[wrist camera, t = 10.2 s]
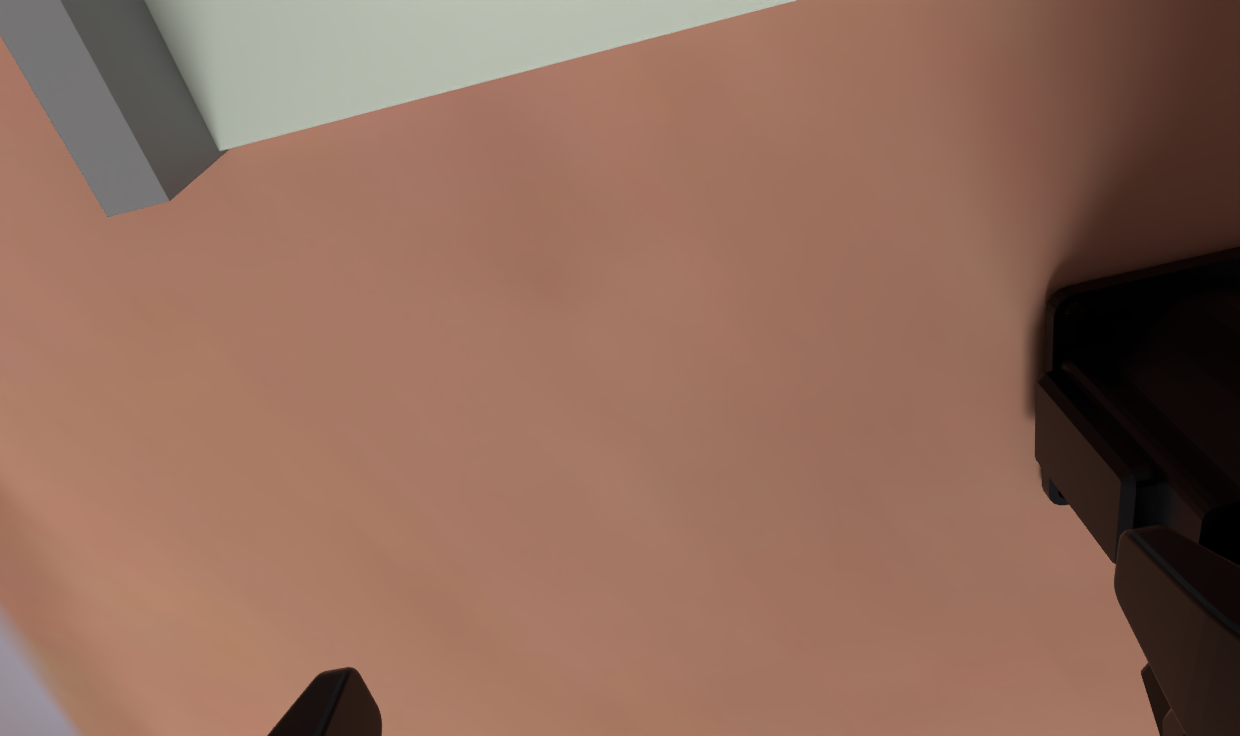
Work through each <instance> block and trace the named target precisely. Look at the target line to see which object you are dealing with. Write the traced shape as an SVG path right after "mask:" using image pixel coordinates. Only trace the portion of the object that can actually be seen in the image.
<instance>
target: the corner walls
mask: <svg viewBox="0 0 1240 736" xmlns="http://www.w3.org/2000/svg"><path fill="white" fill-rule="evenodd" d="M0 36H1V37H2V39H3V41H4V42H5V44H6V46H7V48H8V49H9V51H10V53H11V54H12V56H13V58H14V59H15V61H16V63H17V64H18V66H19V68H20V70H21V71H22V73H23V75H24V76H25V78H26V80H27V81H28V83H29V85H30V87H31V88H32V90H33V92H34V93H35V95H36V97H37V98H38V100H39V102H40V103H41V105H42V107H43V109H44V110H45V112H46V114H47V115H48V117H49V119H50V120H51V122H52V124H53V126H54V127H55V129H56V131H57V132H58V134H59V136H60V137H61V139H62V141H63V142H64V144H65V146H66V148H67V149H68V151H69V153H70V154H71V156H72V158H73V159H74V161H75V163H76V165H77V166H78V168H79V170H80V171H81V173H82V175H83V176H84V178H85V180H86V182H87V183H88V185H89V187H90V188H91V190H92V192H93V193H94V195H95V197H96V198H97V200H98V202H99V204H100V205H101V207H102V209H103V210H104V212H105V214H106V215H107V217H110V216H114V215H118V214H122V213H125V212H129V211H133V210H137V209H141V208H145V207H149V206H153V205H157V204H160V203H164V202H168V201H170V200H171V199H173V198H174V197H175V196H176V195H177V194H178V193H180V192H181V191H182V190H183V189H184V188H185V187H186V186H188V185H189V184H190V183H191V182H192V181H193V180H194V179H196V178H197V177H198V176H199V175H200V174H201V173H203V172H204V171H205V170H206V169H207V168H208V167H209V166H211V165H212V164H213V163H214V162H215V161H216V160H217V159H219V158H220V157H221V156H222V155H223V154H224V153H226V152H227V151H228V149H226V150H222V151H219V150H218V148H217V146H216V144H215V142H214V140H213V138H212V136H211V134H210V132H209V130H208V128H207V126H206V124H205V122H204V120H203V118H202V116H201V114H200V112H199V110H198V108H197V106H196V103H195V101H194V99H193V97H192V95H191V93H190V91H189V89H188V87H187V85H186V83H185V81H184V79H183V77H182V75H181V73H180V71H179V69H178V67H177V65H176V63H175V61H174V59H173V57H172V55H171V53H170V51H169V49H168V47H167V45H166V43H165V41H164V39H163V37H162V35H161V33H160V31H159V29H158V27H157V25H156V23H155V21H154V19H153V17H152V15H151V13H150V11H149V9H148V7H147V5H146V3H145V1H144V0H0Z"/></svg>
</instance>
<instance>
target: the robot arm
mask: <svg viewBox="0 0 1240 736" xmlns="http://www.w3.org/2000/svg"><path fill="white" fill-rule="evenodd" d="M1074 303H1078V304H1077V307H1076V308H1075V309H1074V310H1073V311H1072V312H1070V313H1068V314H1064V313H1065V310H1066V309H1067V308H1068V307H1069V306H1070V305H1072V304H1074ZM1035 458H1036V460H1037V461H1038V463H1039V464H1040V466H1041V467H1042V488H1043V491H1044V492H1045V493H1046V495H1047V496H1048V498H1049V499H1050V500H1051V501H1052V502H1053V503H1054V504H1058V505H1070V506H1071V507H1072V509H1073V510H1074V511H1075V513H1076V514H1077V515H1078V517H1079V518H1080V519H1081V521H1082V522H1083V523H1084V525H1085V526H1086V527H1087V529H1088V530H1089V532H1090V533H1091V534H1092V536H1093V537H1094V538H1095V540H1096V541H1097V542H1098V544H1099V545H1100V546H1101V548H1102V549H1103V550H1104V552H1105V553H1106V554H1107V556H1108V557H1109V558H1110V560H1111V561H1112V562H1113V563H1114V564H1116V568H1115V576H1114V588H1115V593H1116V596H1117V599H1118V602H1119V604H1120V606H1121V608H1122V610H1123V612H1124V614H1125V616H1126V618H1127V620H1128V622H1129V624H1130V626H1131V628H1132V630H1133V632H1134V634H1135V636H1136V638H1137V640H1138V642H1139V644H1140V646H1141V648H1142V650H1143V652H1144V654H1145V656H1146V658H1147V660H1148V663H1147V665H1146V666H1145V667H1144V668H1143V669H1142V670H1141V675H1142V679H1143V682H1144V685H1145V688H1146V692H1147V695H1148V698H1149V701H1150V705H1151V708H1152V711H1153V714H1154V717H1155V721H1156V724H1157V727H1158V730H1159V734H1160V736H1240V247H1238V248H1234V249H1229V250H1225V251H1221V252H1216V253H1212V254H1207V255H1203V256H1198V257H1194V258H1190V259H1185V260H1181V261H1176V262H1172V263H1167V264H1163V265H1158V266H1154V267H1150V268H1145V269H1141V270H1136V271H1132V272H1127V273H1123V274H1119V275H1114V276H1110V277H1105V278H1101V279H1096V280H1092V281H1088V282H1083V283H1079V284H1074V285H1070V286H1066V287H1064V288H1061V289H1059V290H1058V291H1057V292H1055V293H1054V294H1053V295H1052V296H1051V297H1050V299H1049V300H1048V302H1047V306H1046V314H1045V361H1044V372H1043V373H1042V374H1041V375H1040V377H1039V379H1038V381H1037V382H1036V415H1035ZM267 736H382V719H381V714H380V711H379V708H378V706H377V704H376V702H375V700H374V698H373V697H372V695H371V693H370V691H369V690H368V688H367V686H366V684H365V682H364V681H363V679H362V677H361V675H360V674H359V672H358V671H357V670H356V669H354V668H352V667H346V668H340V669H335V670H329V671H324V672H322V673H320V674H319V675H318V676H316V677H315V679H314V680H313V681H312V682H311V683H310V684H309V686H308V687H307V688H306V689H305V691H304V692H303V693H302V694H301V695H300V697H299V698H298V699H297V700H296V701H295V703H294V704H293V705H292V706H291V707H290V709H289V710H288V711H287V712H286V714H285V715H284V716H283V717H282V718H281V720H280V721H279V722H278V723H277V724H276V726H275V727H274V728H273V729H272V731H271V732H270V733H269V734H268V735H267Z"/></svg>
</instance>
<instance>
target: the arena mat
mask: <svg viewBox="0 0 1240 736" xmlns="http://www.w3.org/2000/svg"><path fill="white" fill-rule="evenodd" d="M144 1H145V3H146V5H147V7H148V9H149V11H150V13H151V15H152V17H153V19H154V21H155V23H156V25H157V27H158V29H159V31H160V33H161V35H162V37H163V39H164V41H165V43H166V45H167V47H168V49H169V51H170V53H171V55H172V57H173V59H174V61H175V63H176V65H177V67H178V69H179V71H180V73H181V75H182V77H183V79H184V81H185V83H186V85H187V87H188V89H189V91H190V93H191V95H192V97H193V99H194V101H195V103H196V106H197V108H198V110H199V112H200V114H201V116H202V118H203V120H204V122H205V124H206V126H207V128H208V130H209V132H210V134H211V136H212V138H213V140H214V142H215V144H216V146H217V148H218V150H219V151H222V150H226V149H230V148H234V147H238V146H241V145H245V144H249V143H253V142H257V141H260V140H264V139H268V138H272V137H276V136H280V135H283V134H287V133H291V132H295V131H299V130H302V129H306V128H310V127H314V126H318V125H322V124H325V123H329V122H333V121H337V120H341V119H344V118H348V117H352V116H356V115H360V114H364V113H367V112H371V111H375V110H379V109H383V108H386V107H390V106H394V105H398V104H402V103H406V102H409V101H413V100H417V99H421V98H425V97H429V96H432V95H436V94H440V93H444V92H448V91H451V90H455V89H459V88H463V87H467V86H471V85H474V84H478V83H482V82H486V81H490V80H493V79H497V78H501V77H505V76H509V75H513V74H516V73H520V72H524V71H528V70H532V69H535V68H539V67H543V66H547V65H551V64H555V63H558V62H562V61H566V60H570V59H574V58H577V57H581V56H585V55H589V54H593V53H597V52H600V51H604V50H608V49H612V48H616V47H619V46H623V45H627V44H631V43H635V42H639V41H642V40H646V39H650V38H654V37H658V36H661V35H665V34H669V33H673V32H677V31H681V30H684V29H688V28H692V27H696V26H700V25H703V24H707V23H711V22H715V21H719V20H723V19H726V18H730V17H734V16H738V15H742V14H745V13H749V12H753V11H757V10H761V9H765V8H768V7H772V6H776V5H780V4H784V3H787V2H791V1H795V0H144Z"/></svg>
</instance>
